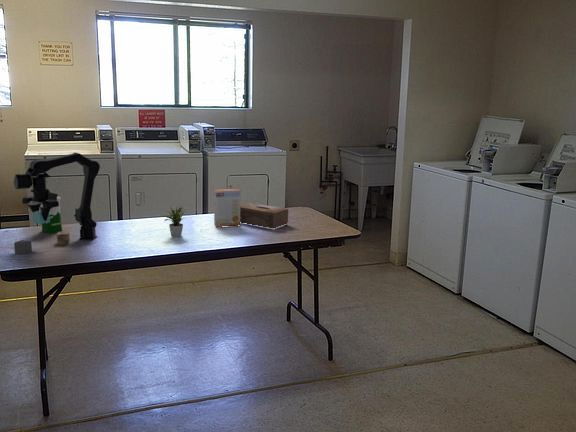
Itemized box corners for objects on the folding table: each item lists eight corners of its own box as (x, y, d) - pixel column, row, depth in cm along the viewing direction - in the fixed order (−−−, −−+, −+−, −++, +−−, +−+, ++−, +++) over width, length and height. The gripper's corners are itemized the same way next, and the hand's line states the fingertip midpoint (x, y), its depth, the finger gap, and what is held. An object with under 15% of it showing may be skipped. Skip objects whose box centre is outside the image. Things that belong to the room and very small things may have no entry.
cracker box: (237, 224, 315) (238, 188, 311) (240, 226, 310) (241, 190, 305) (213, 225, 310) (213, 189, 306) (216, 228, 305) (216, 191, 300)
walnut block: (69, 241, 269) (69, 231, 268) (68, 244, 265) (68, 234, 264) (58, 241, 268) (58, 231, 267) (57, 244, 263) (56, 234, 262)
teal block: (49, 221, 259) (49, 211, 258) (40, 223, 255) (39, 213, 254) (42, 220, 262) (42, 210, 261) (33, 222, 257) (32, 211, 256)
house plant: (169, 231, 294) (168, 201, 291) (193, 233, 292) (193, 203, 288) (157, 237, 281) (157, 206, 277) (183, 240, 278) (183, 208, 275)
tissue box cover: (287, 225, 317) (288, 208, 315) (273, 230, 305) (274, 213, 303) (251, 219, 330) (252, 202, 328) (237, 223, 318) (237, 206, 316)
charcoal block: (32, 251, 251) (31, 240, 250) (24, 254, 247) (23, 243, 246) (22, 250, 253) (21, 239, 251) (14, 253, 248) (14, 242, 247)
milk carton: (54, 228, 293) (51, 191, 288) (65, 230, 288) (62, 193, 284) (39, 231, 286) (36, 193, 281) (50, 234, 281) (47, 195, 277)
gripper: (67, 187, 257) (69, 219, 261) (40, 182, 266) (43, 214, 269) (47, 190, 248) (49, 223, 251) (20, 185, 256) (22, 218, 260)
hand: (41, 219), depth 258 cm, fingers closed on teal block, 5 cm apart
